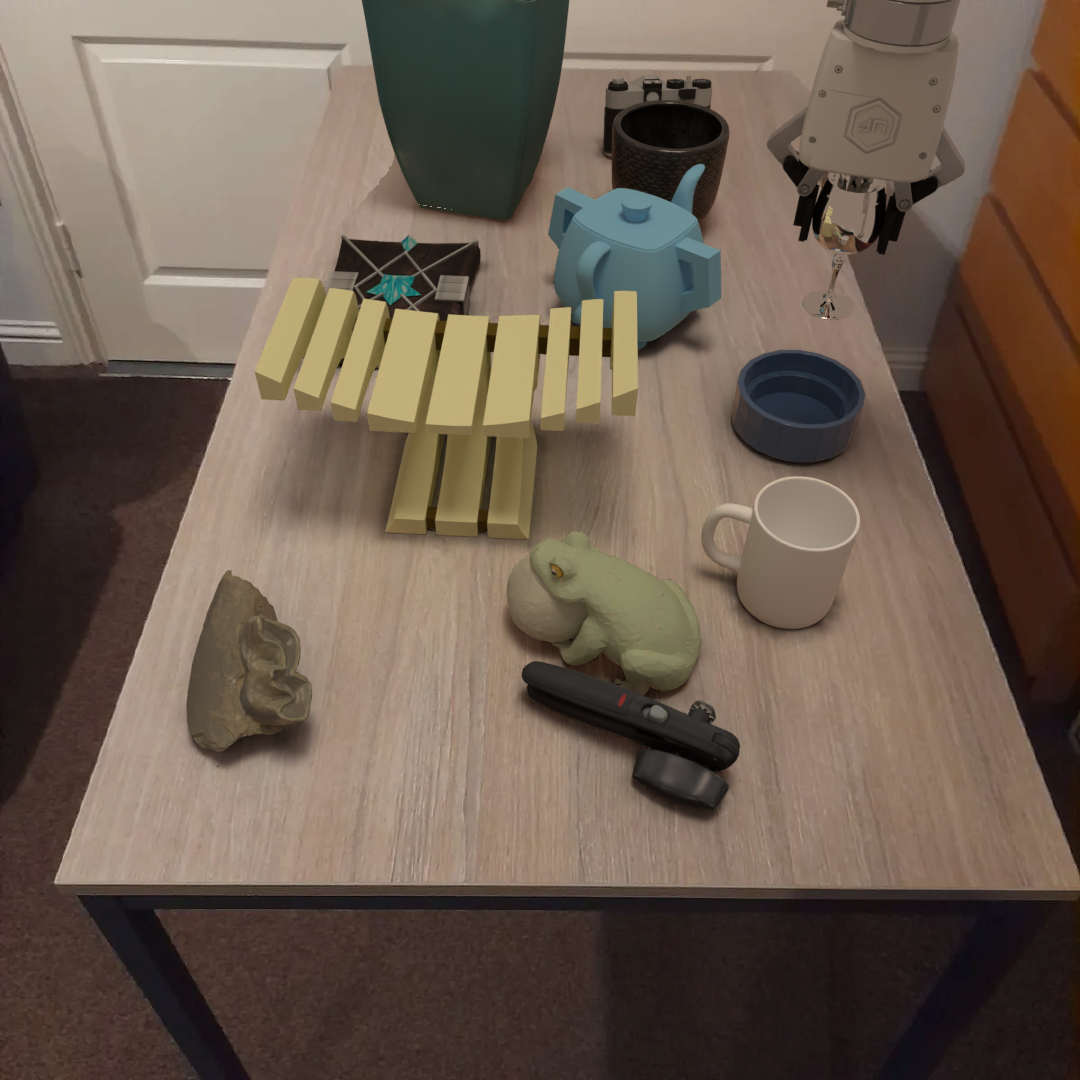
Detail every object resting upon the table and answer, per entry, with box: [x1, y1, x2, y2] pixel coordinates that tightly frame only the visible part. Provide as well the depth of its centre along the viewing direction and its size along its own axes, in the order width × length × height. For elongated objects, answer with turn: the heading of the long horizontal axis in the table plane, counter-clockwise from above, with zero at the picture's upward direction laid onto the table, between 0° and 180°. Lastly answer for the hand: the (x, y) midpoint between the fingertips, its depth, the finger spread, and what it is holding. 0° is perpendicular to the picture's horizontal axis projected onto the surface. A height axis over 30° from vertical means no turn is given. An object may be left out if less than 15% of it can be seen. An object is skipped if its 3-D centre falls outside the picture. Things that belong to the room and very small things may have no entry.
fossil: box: [185, 569, 313, 753], centre depth 76 cm, size 14×10×10 cm
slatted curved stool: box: [254, 277, 639, 540], centre depth 90 cm, size 30×16×18 cm, turn 87°
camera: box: [602, 74, 713, 157], centre depth 140 cm, size 15×11×10 cm
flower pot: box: [361, 0, 570, 222], centre depth 123 cm, size 20×20×28 cm
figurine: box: [506, 530, 702, 696], centre depth 79 cm, size 10×16×10 cm, turn 66°
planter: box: [611, 100, 731, 224], centre depth 124 cm, size 14×14×13 cm
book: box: [324, 234, 482, 364], centre depth 113 cm, size 22×17×5 cm
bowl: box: [730, 349, 866, 463], centre depth 100 cm, size 12×12×5 cm
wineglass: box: [801, 172, 888, 321], centre depth 85 cm, size 6×6×12 cm
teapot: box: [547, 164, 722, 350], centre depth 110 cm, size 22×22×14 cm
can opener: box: [521, 660, 741, 812], centre depth 75 cm, size 18×7×6 cm, turn 58°
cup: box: [700, 475, 861, 630], centre depth 83 cm, size 8×12×10 cm
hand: (843, 238), depth 85 cm, fingers closed on wineglass, 5 cm apart
